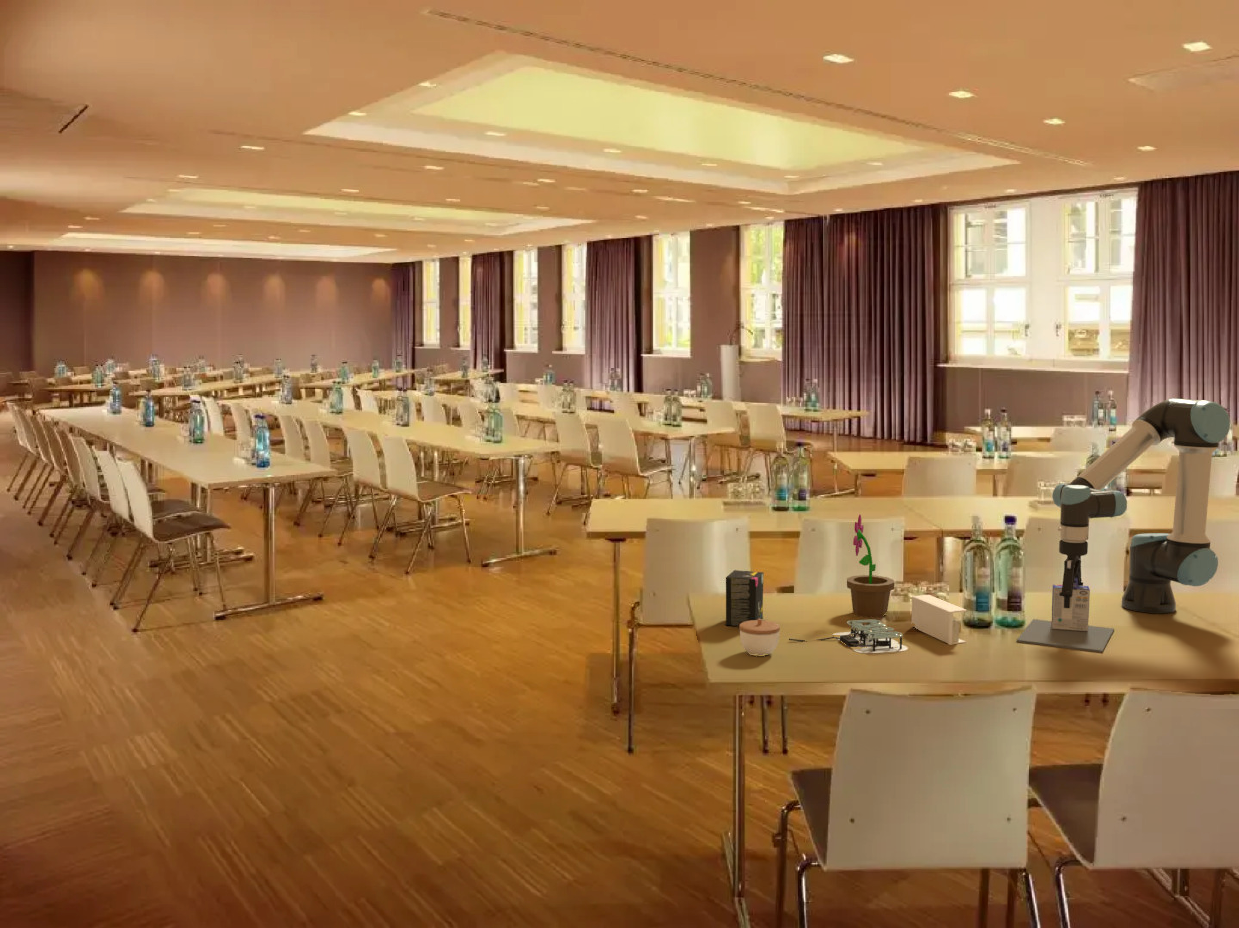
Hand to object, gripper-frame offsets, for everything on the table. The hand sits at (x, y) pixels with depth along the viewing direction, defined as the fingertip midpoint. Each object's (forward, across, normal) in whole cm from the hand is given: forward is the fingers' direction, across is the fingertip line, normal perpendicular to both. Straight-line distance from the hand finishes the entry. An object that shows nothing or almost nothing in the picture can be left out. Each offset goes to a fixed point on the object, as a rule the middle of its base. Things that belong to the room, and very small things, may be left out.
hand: (1070, 613), depth 326 cm
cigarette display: (+5, +22, -32) cm, 39 cm away
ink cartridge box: (+5, 0, 0) cm, 5 cm away
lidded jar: (+5, +63, -69) cm, 94 cm away
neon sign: (+6, +43, -52) cm, 67 cm away
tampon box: (+5, +36, -85) cm, 92 cm away
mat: (+5, +6, 0) cm, 8 cm away
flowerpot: (+5, +8, -56) cm, 57 cm away
